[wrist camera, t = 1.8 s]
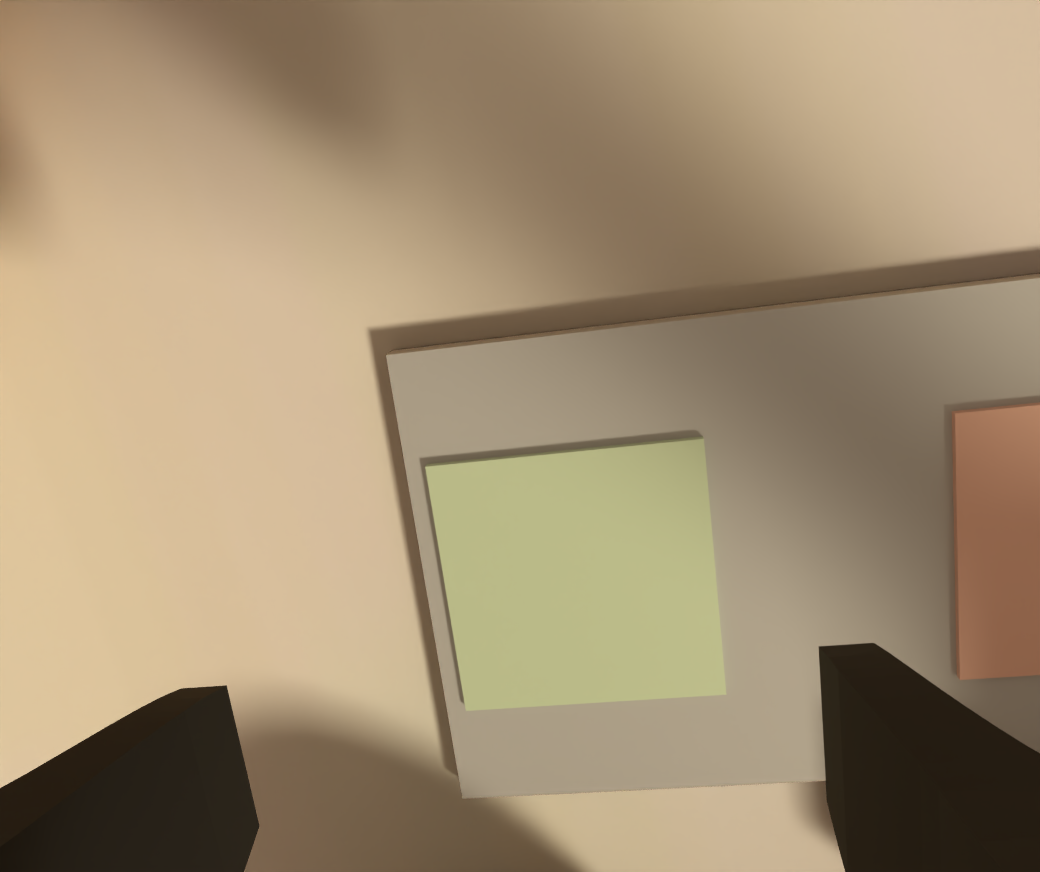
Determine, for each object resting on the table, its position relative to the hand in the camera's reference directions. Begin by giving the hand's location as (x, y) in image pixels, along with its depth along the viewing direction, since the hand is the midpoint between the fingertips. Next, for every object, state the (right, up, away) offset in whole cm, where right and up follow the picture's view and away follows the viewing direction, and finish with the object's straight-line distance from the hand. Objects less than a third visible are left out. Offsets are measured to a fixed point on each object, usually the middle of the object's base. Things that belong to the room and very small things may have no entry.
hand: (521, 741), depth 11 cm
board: (+7, +1, +9) cm, 12 cm away
